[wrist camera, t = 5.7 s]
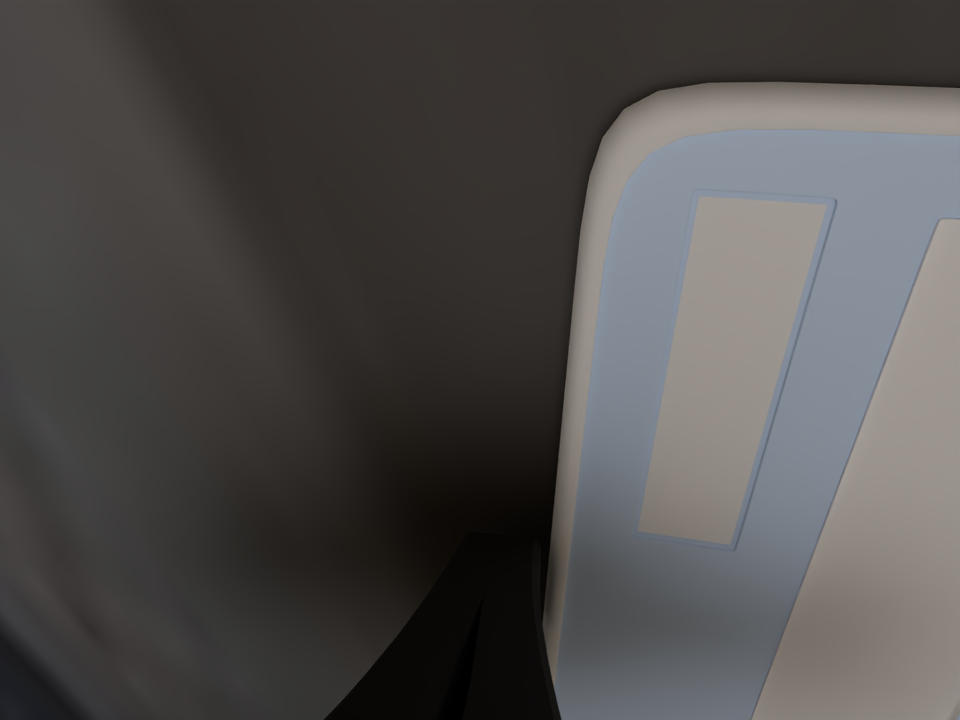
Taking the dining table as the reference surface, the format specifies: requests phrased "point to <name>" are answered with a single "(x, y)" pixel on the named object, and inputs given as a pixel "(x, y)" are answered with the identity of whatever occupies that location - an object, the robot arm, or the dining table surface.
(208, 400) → the dining table surface
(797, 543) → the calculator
